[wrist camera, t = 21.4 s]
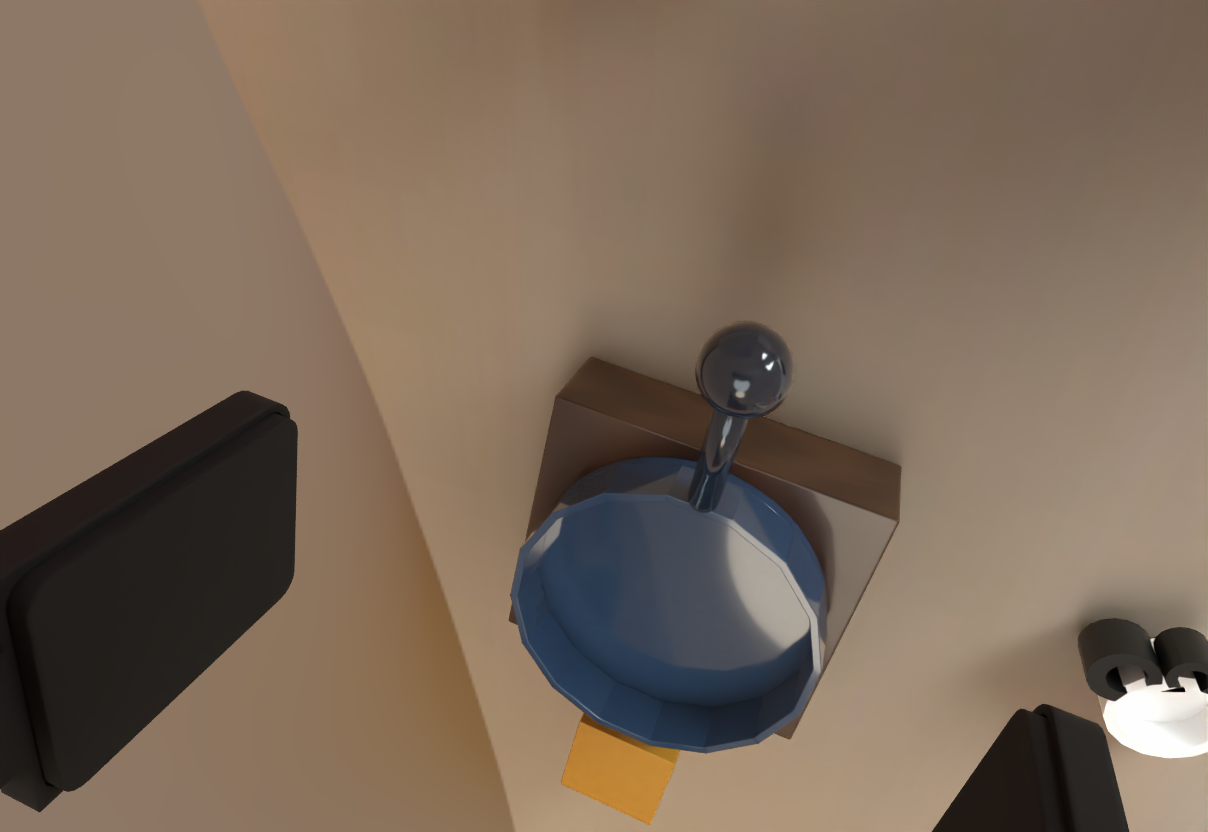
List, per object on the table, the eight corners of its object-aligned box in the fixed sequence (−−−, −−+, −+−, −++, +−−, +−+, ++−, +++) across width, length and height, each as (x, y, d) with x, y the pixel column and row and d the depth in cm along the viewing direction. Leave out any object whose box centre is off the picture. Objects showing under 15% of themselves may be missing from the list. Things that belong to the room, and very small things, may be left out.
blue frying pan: (963, 342, 25) (973, 418, 21) (771, 740, 35) (749, 855, 30) (611, 229, 27) (548, 275, 23) (519, 634, 37) (462, 725, 32)
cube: (649, 825, 39) (674, 750, 43) (675, 764, 36) (699, 690, 40) (559, 784, 40) (592, 713, 43) (579, 721, 37) (611, 653, 41)
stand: (902, 465, 32) (900, 521, 29) (801, 674, 38) (790, 740, 34) (590, 356, 34) (554, 395, 31) (542, 568, 40) (507, 621, 37)
